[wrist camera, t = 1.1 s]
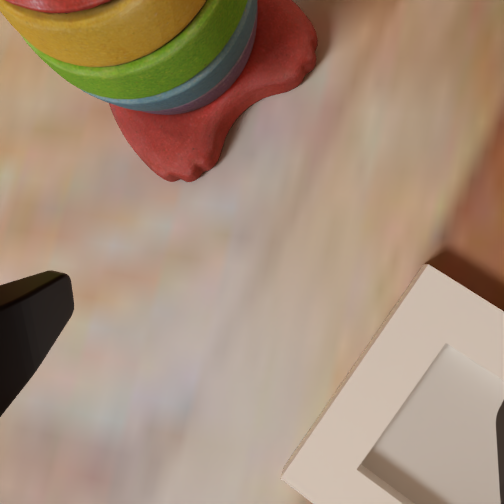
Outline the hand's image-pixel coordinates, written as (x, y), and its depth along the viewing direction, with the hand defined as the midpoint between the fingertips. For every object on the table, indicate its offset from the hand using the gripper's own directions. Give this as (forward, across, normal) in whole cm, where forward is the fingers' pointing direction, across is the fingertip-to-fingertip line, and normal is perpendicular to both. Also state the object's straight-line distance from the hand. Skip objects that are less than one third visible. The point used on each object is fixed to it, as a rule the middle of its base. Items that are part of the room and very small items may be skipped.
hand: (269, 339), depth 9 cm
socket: (+9, -8, +11) cm, 17 cm away
